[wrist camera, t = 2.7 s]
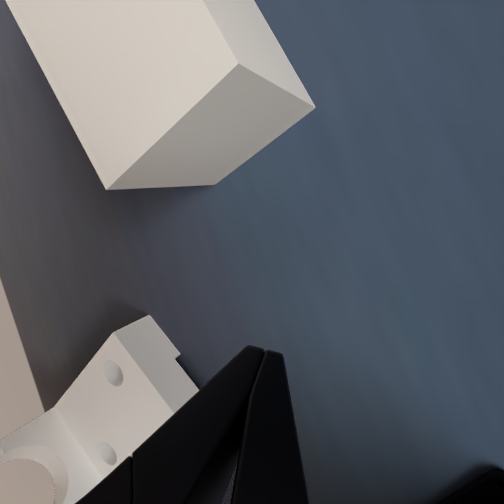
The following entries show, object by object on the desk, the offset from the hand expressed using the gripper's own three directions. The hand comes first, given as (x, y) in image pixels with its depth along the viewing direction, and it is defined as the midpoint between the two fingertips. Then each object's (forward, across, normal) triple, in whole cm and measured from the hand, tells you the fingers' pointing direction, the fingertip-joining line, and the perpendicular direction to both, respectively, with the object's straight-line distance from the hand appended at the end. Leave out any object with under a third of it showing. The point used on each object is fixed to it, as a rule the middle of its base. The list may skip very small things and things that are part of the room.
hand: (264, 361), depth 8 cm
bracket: (+10, +11, +18) cm, 23 cm away
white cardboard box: (+16, +8, -6) cm, 18 cm away
